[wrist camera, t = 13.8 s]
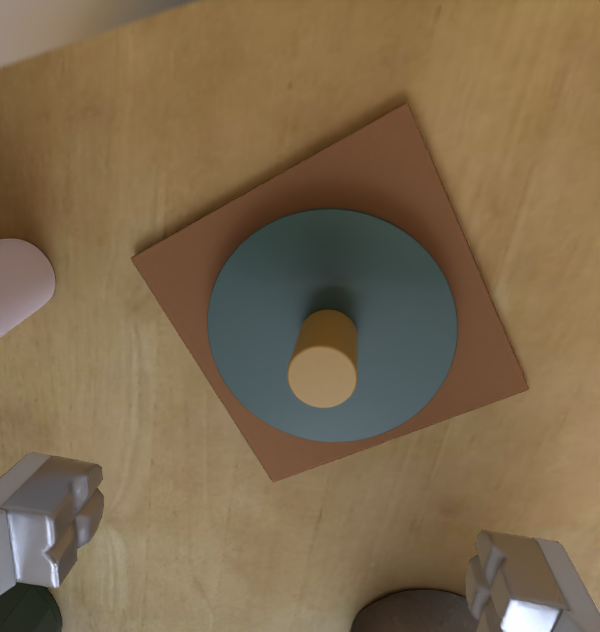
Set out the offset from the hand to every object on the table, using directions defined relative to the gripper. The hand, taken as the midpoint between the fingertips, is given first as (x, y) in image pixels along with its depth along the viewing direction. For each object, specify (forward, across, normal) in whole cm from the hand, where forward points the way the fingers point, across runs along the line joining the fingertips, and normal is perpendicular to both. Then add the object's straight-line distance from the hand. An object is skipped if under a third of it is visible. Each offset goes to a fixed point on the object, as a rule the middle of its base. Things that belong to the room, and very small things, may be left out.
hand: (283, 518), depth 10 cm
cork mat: (+13, 0, 0) cm, 13 cm away
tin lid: (+12, 0, 0) cm, 12 cm away
